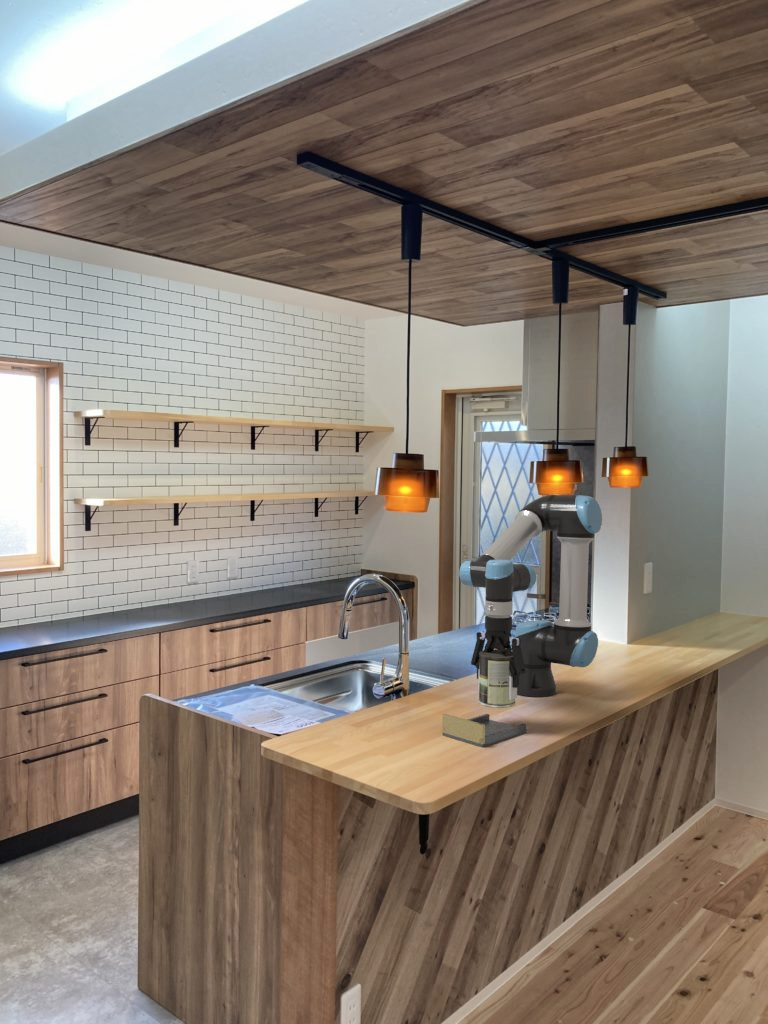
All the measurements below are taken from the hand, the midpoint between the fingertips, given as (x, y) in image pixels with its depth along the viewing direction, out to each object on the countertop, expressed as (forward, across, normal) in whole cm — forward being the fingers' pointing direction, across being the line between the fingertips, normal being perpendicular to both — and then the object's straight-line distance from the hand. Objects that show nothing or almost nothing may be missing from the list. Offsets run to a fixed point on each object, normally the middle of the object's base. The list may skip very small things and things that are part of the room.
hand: (497, 695), depth 238 cm
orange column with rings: (+9, -59, +78) cm, 98 cm away
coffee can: (+3, 0, 0) cm, 3 cm away
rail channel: (+10, 0, -5) cm, 11 cm away
